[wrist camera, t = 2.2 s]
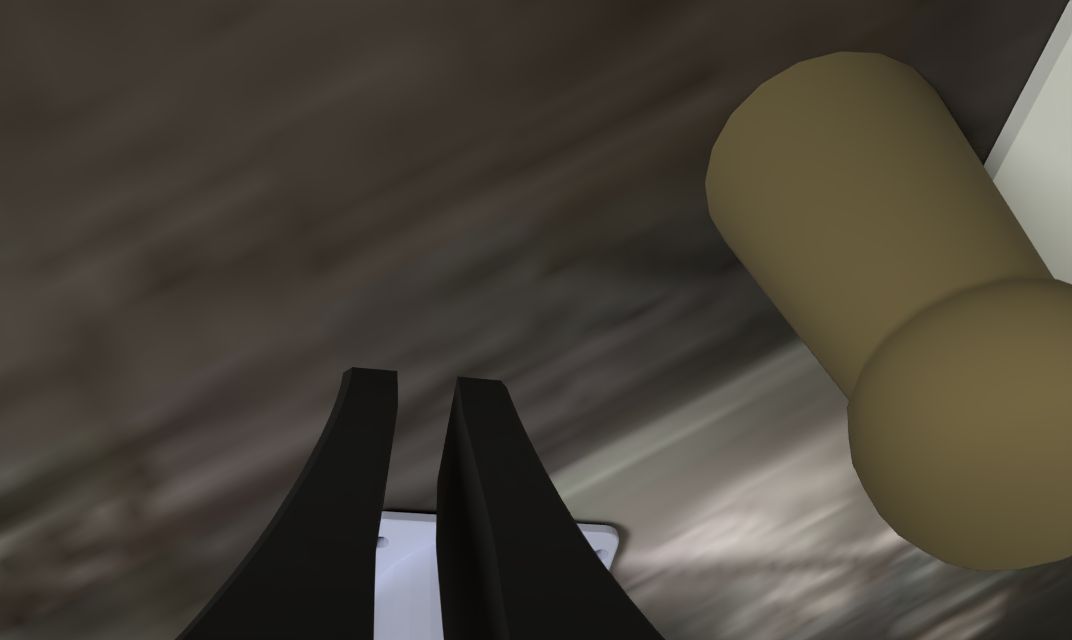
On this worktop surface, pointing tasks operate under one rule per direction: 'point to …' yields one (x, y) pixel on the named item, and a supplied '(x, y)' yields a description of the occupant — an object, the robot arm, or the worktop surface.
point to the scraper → (1042, 154)
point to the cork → (909, 303)
